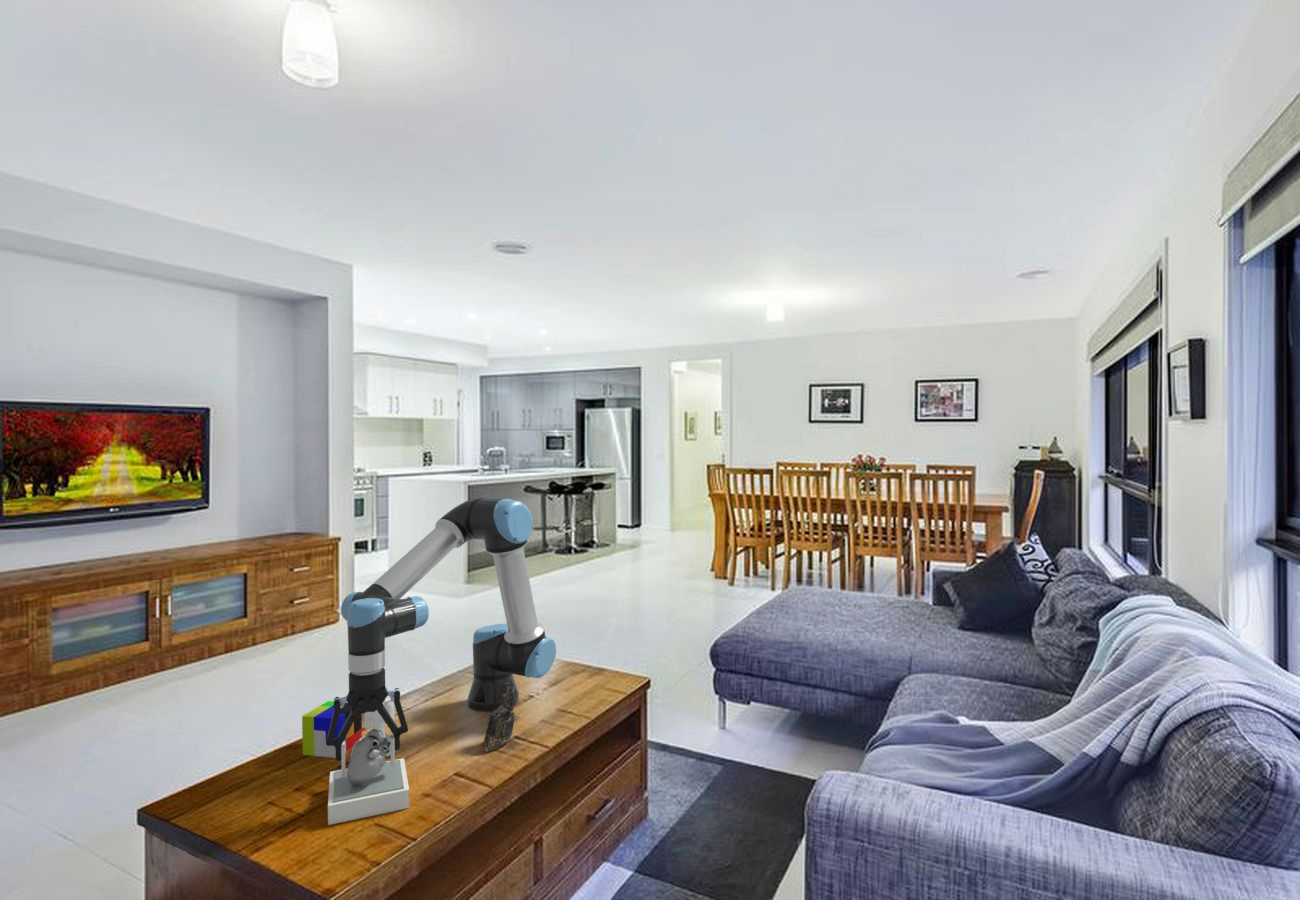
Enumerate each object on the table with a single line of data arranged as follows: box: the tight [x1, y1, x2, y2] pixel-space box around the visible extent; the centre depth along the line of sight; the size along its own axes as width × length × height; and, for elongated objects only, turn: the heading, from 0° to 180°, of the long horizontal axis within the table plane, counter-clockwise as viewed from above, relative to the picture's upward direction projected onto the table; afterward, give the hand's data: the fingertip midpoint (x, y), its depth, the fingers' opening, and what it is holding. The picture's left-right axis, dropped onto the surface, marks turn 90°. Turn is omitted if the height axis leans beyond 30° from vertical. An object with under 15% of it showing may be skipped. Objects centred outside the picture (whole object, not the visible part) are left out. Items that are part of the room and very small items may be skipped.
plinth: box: [327, 757, 410, 826], centre depth 152 cm, size 16×16×4 cm
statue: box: [482, 682, 515, 752], centre depth 179 cm, size 6×12×15 cm, turn 155°
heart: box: [346, 728, 391, 785], centre depth 152 cm, size 10×10×12 cm
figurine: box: [363, 699, 402, 758], centre depth 173 cm, size 7×9×15 cm
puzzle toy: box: [301, 700, 363, 759], centre depth 177 cm, size 10×10×10 cm
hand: (368, 769), depth 152 cm, fingers open, 9 cm apart
